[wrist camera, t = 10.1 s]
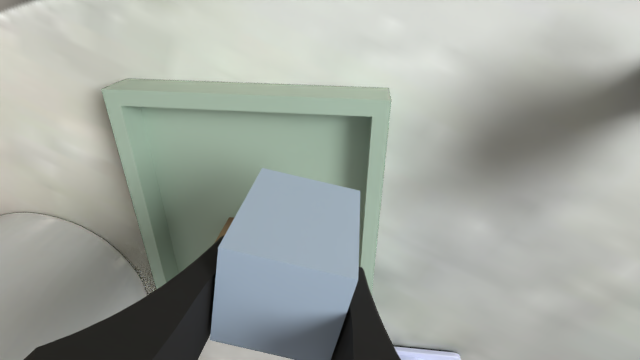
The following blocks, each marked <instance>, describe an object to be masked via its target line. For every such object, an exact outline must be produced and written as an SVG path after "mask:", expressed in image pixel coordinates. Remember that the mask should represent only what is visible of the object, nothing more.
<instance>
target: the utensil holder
mask: <svg viewBox="0 0 640 360" xmlns="http://www.w3.org/2000/svg"><path fill="white" fill-rule="evenodd" d="M146 296H147V294H146V291H145V288H144V285H143V283H142V281H141V279H140V277H139V275H138V274H137V272H136V271H135V270H134V268H133V267H132V266H131V264H130V263H129V262H128V261H127V260H126V259H125V258H124V257H123V256H122V255H121V254H120V253H119V252H118V251H117V250H116V249H115V248H114V247H113V246H111V245H110V244H109V243H108V242H106V241H105V240H104V239H102V238H101V237H99V236H98V235H96V234H94V233H93V232H91V231H89V230H87V229H85V228H83V227H81V226H79V225H77V224H75V223H72V222H69V221H66V220H63V219H59V218H56V217H53V216H49V215H43V214H38V213H10V214H4V215H1V216H0V360H24V359H25V358H26V357H27V356H28V355H29V354H30V353H31V352H32V351H33V350H34V349H35V348H36V347H39V346H42V345H45V344H47V343H50V342H53V341H55V340H58V339H61V338H63V337H66V336H68V335H71V334H73V333H76V332H78V331H80V330H83V329H85V328H87V327H89V326H91V325H93V324H96V323H98V322H100V321H102V320H104V319H106V318H108V317H110V316H112V315H114V314H116V313H118V312H120V311H122V310H123V309H125V308H127V307H129V306H130V305H132V304H134V303H136V302H138V301H139V300H141V299H142V298H144V297H146Z"/></svg>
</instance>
